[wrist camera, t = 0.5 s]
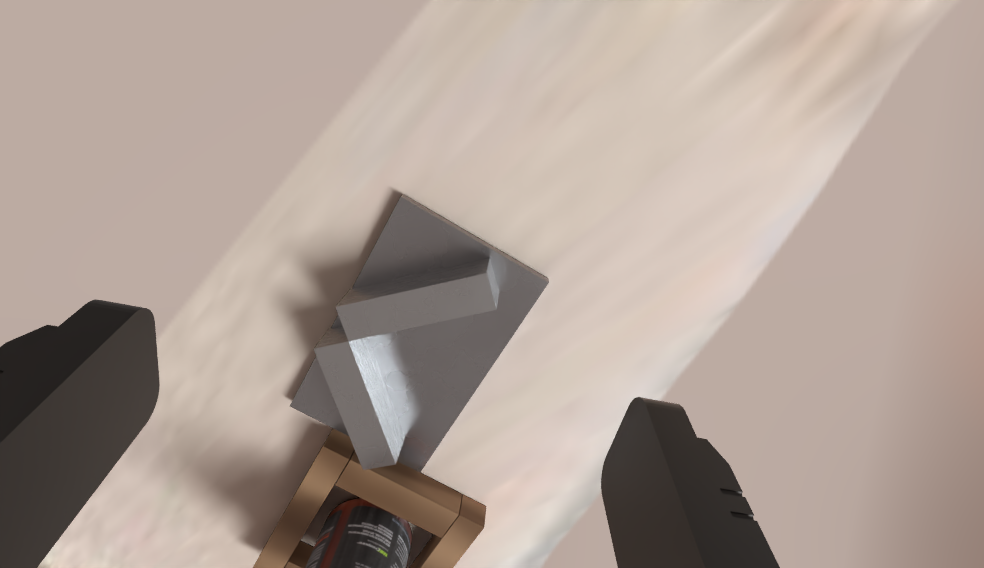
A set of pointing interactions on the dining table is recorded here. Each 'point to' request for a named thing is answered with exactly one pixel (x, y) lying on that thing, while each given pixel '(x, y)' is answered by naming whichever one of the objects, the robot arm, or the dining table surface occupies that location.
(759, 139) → the dining table surface
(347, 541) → the supplement bottle
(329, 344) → the metal v block
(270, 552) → the frame
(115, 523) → the dining table surface
